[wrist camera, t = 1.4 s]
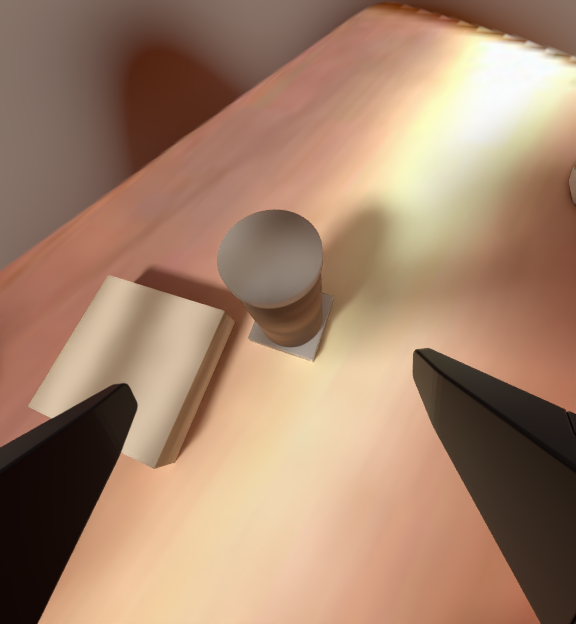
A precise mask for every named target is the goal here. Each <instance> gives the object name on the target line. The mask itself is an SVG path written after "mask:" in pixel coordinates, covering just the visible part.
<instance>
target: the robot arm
mask: <svg viewBox="0 0 576 624" xmlns="http://www.w3.org/2000/svg"><path fill="white" fill-rule="evenodd" d="M413 378H414V381H415V384H416V386H417V389H418V391H419V394H420V396H421V399H422V401H423V403H424V406H425V408H426V411H427V413H428V416H429V418H430V420H431V423H432V425H433V427H434V429H435V431H436V433H437V435H438V437H439V439H440V440H441V442H442V444H443V446H444V448H445V450H446V451H447V453H448V455H449V457H450V459H451V461H452V462H453V464H454V466H455V468H456V470H457V472H458V473H459V475H460V477H461V479H462V481H463V482H464V484H465V486H466V488H467V490H468V492H469V493H470V495H471V497H472V499H473V501H474V503H475V504H476V506H477V508H478V510H479V512H480V514H481V515H482V517H483V519H484V521H485V523H486V524H487V526H488V528H489V530H490V532H491V534H492V535H493V537H494V539H495V541H496V543H497V545H498V546H499V548H500V550H501V552H502V554H503V556H504V557H505V559H506V561H507V563H508V565H509V566H510V568H511V570H512V572H513V574H514V576H515V577H516V579H517V581H518V583H519V585H520V587H521V588H522V590H523V592H524V594H525V596H526V598H527V599H528V601H529V603H530V605H531V607H532V608H533V610H534V612H535V614H536V616H537V618H538V619H539V621H540V623H541V624H576V414H575V413H572V412H570V411H568V412H566V410H565V409H563V408H561V407H559V406H557V405H554V404H552V403H550V402H548V401H546V400H543V399H541V398H539V397H537V396H534V395H532V394H530V393H528V392H526V391H523V390H521V389H519V388H517V387H515V386H512V385H510V384H508V383H506V382H503V381H501V380H499V379H497V378H495V377H492V376H490V375H488V374H486V373H483V372H481V371H479V370H477V369H475V368H472V367H470V366H468V365H466V364H463V363H461V362H459V361H457V360H455V359H452V358H450V357H448V356H446V355H443V354H441V353H439V352H437V351H435V350H432V349H430V348H424V349H416V350H415V351H414V353H413ZM137 408H138V403H137V400H136V398H135V396H134V394H133V392H132V390H131V388H130V386H129V385H128V384H127V383H119V384H113V385H111V386H109V387H107V388H105V389H103V390H102V391H100V392H98V393H96V394H95V395H93V396H91V397H89V398H87V399H86V400H84V401H82V402H80V403H79V404H77V405H75V406H73V407H71V408H70V409H68V410H66V411H64V412H63V413H61V414H59V415H57V416H55V417H54V418H52V419H50V420H48V421H47V422H45V423H43V424H41V425H39V426H38V427H36V428H34V429H32V430H31V431H29V432H27V433H25V434H23V435H22V436H20V437H18V438H16V439H15V440H13V441H11V442H9V443H7V444H6V445H4V446H2V447H0V624H38V622H39V620H40V618H41V616H42V614H43V612H44V610H45V608H46V606H47V604H48V602H49V600H50V598H51V596H52V594H53V592H54V589H55V587H56V585H57V583H58V581H59V579H60V577H61V575H62V573H63V571H64V569H65V567H66V565H67V563H68V561H69V559H70V557H71V555H72V553H73V551H74V548H75V546H76V544H77V542H78V540H79V538H80V536H81V534H82V532H83V530H84V528H85V526H86V524H87V522H88V520H89V518H90V516H91V514H92V512H93V510H94V508H95V505H96V503H97V501H98V499H99V497H100V495H101V493H102V491H103V489H104V487H105V485H106V483H107V481H108V479H109V477H110V475H111V473H112V471H113V469H114V467H115V465H116V462H117V460H118V458H119V456H120V454H121V451H122V449H123V446H124V443H125V441H126V438H127V436H128V433H129V430H130V428H131V425H132V422H133V420H134V417H135V415H136V412H137Z"/></svg>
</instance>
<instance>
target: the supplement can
mask: <svg viewBox="0 0 576 624" xmlns="http://www.w3.org/2000/svg"><path fill="white" fill-rule="evenodd" d="M569 186H570V191H571V196H572V200H573V202H574V203H575V205H576V166H575V167H574V168H573V169H572V172H571V175H570V179H569Z"/></svg>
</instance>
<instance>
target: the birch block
mask: <svg viewBox="0 0 576 624" xmlns="http://www.w3.org/2000/svg"><path fill="white" fill-rule="evenodd" d="M234 324H235V321H234V320H233V319H232V318H231V317H230V316H229V315H228V314H227V313H226V312H225V311H223V310H220V309H217V308H214V307H210V306H207V305H204V304H201V303H197V302H194V301H191V300H188V299H185V298H181V297H178V296H175V295H172V294H168V293H165V292H162V291H159V290H155V289H152V288H149V287H146V286H142V285H139V284H136V283H133V282H129V281H126V280H123V279H120V278H117V277H113V276H110V275H108V276H107V278H106V280H105V281H104V283H103V285H102V286H101V288H100V290H99V291H98V293H97V294H96V296H95V298H94V299H93V301H92V303H91V304H90V306H89V308H88V309H87V311H86V312H85V314H84V316H83V317H82V319H81V321H80V322H79V324H78V326H77V327H76V329H75V330H74V332H73V334H72V335H71V337H70V339H69V340H68V342H67V344H66V345H65V347H64V348H63V350H62V352H61V353H60V355H59V357H58V358H57V360H56V362H55V363H54V365H53V366H52V368H51V370H50V371H49V373H48V375H47V376H46V378H45V380H44V381H43V383H42V384H41V386H40V388H39V389H38V391H37V393H36V394H35V396H34V398H33V399H32V401H31V402H30V404H29V406H28V407H30V408H32V409H34V410H36V411H38V412H40V413H42V414H44V415H46V416H48V417H50V418H54V417H55V416H57V415H59V414H61V413H63V412H64V411H66V410H68V409H70V408H71V407H73V406H75V405H77V404H79V403H80V402H82V401H84V400H86V399H87V398H89V397H91V396H93V395H95V394H96V393H98V392H100V391H102V390H103V389H105V388H107V387H109V386H111V385H113V384H119V383H127V384H128V385H129V386H130V388H131V390H132V392H133V394H134V396H135V398H136V400H137V403H138V408H137V412H136V415H135V417H134V420H133V422H132V425H131V428H130V430H129V433H128V436H127V438H126V441H125V443H124V446H123V449H122V451H121V453H123V454H125V455H127V456H129V457H131V458H133V459H135V460H137V461H139V462H141V463H144V464H146V465H148V466H150V467H152V468H154V469H155V468H158V467H161V466H165V465H168V464H171V463H175V461H176V459H177V456H178V454H179V452H180V449H181V447H182V445H183V442H184V440H185V438H186V435H187V433H188V431H189V428H190V426H191V424H192V421H193V419H194V417H195V414H196V412H197V410H198V408H199V405H200V403H201V401H202V398H203V396H204V394H205V391H206V389H207V387H208V384H209V382H210V380H211V377H212V375H213V373H214V370H215V368H216V366H217V363H218V361H219V359H220V356H221V354H222V352H223V349H224V347H225V345H226V343H227V340H228V338H229V336H230V333H231V331H232V329H233V326H234Z"/></svg>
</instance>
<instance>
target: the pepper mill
mask: <svg viewBox="0 0 576 624" xmlns="http://www.w3.org/2000/svg"><path fill="white" fill-rule="evenodd" d="M322 263H323V254H322V242H321V239H320V236H319V234H318V232H317V230H316V229H315V228H314V226H313V225H312V224H311V223H310V222H309V221H308V220H306V219H305V218H304V217H302V216H300V215H298V214H296V213H293V212H290V211H285V210H266V211H261V212H257V213H254V214H252V215H249V216H247V217H245V218H244V219H242V220H241V221H239V222H238V223H236V224H235V225H234V226H233V227H232V228H231V229H230V230H229V231H228V233H227V234H226V235H225V237H224V239H223V240H222V242H221V245H220V247H219V251H218V257H217V265H218V270H219V273H220V276H221V278H222V280H223V282H224V283H225V284H226V286H227V287H228V288H229V290H230V291H231V292H232V294H233V295H234V296H235V297H236V298H238V299H239V300H240V301H241V302H242V304H243V305H244V306H245V308H246V309H247V311H248V312H249V313H250V315H251V316H252V317H253V319H254V320H255V322H254V324H253V327H252V329H251V332H250V334H249V337H248V339H249V340H250V341H252V342H255V343H258V344H261V345H264V346H267V347H270V348H273V349H276V350H279V351H282V352H285V353H288V354H291V355H294V356H297V357H300V358H303V359H306V360H309V361H312V362H314V359H315V355H316V352H317V349H318V346H319V343H320V340H321V337H322V334H323V331H324V328H325V325H326V322H327V319H328V316H329V313H330V309H331V306H332V303H333V297H334V296H331V295H328V294H324V293H322V289H321V270H322Z"/></svg>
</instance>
